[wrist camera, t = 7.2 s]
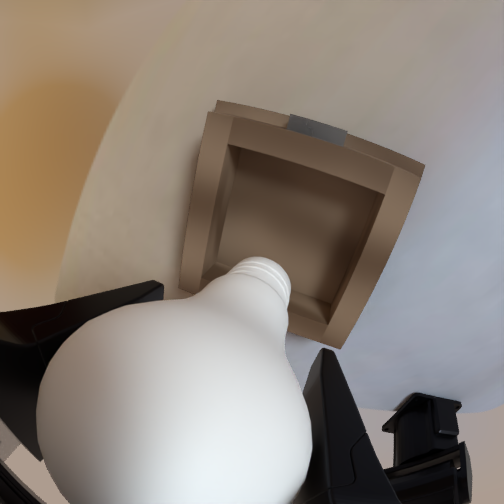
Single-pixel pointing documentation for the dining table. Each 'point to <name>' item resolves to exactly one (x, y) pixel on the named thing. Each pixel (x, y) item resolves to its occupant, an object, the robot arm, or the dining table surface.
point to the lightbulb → (180, 400)
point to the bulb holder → (297, 212)
